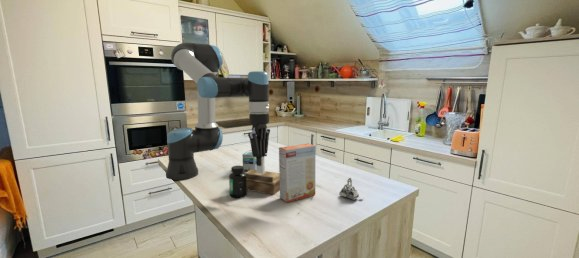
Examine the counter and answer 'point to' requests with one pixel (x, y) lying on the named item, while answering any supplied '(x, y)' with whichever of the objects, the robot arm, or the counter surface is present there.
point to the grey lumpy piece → (349, 191)
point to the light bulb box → (249, 161)
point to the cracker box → (297, 172)
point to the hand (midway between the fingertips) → (260, 172)
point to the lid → (262, 177)
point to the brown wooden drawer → (263, 187)
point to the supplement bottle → (238, 182)
